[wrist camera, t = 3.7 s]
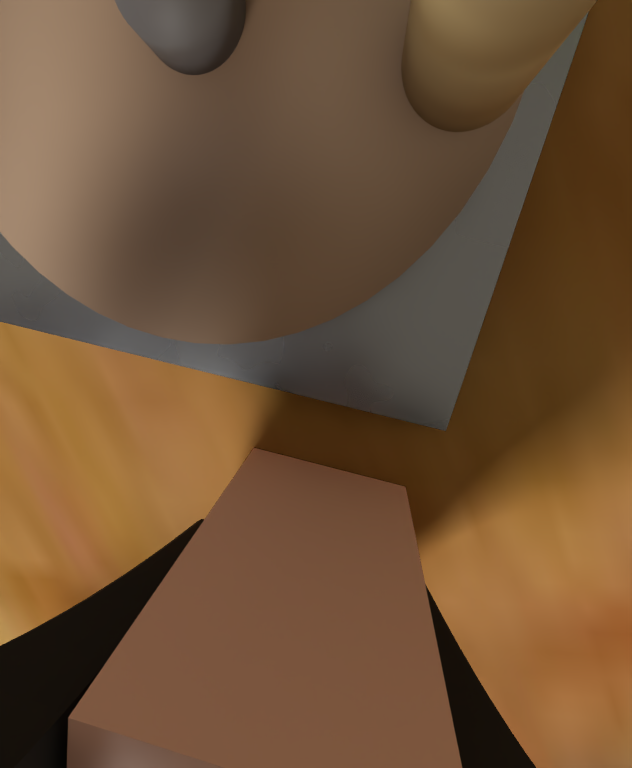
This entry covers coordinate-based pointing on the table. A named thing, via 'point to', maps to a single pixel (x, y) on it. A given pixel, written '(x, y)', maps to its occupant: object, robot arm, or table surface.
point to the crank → (251, 147)
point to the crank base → (369, 319)
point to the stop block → (280, 638)
